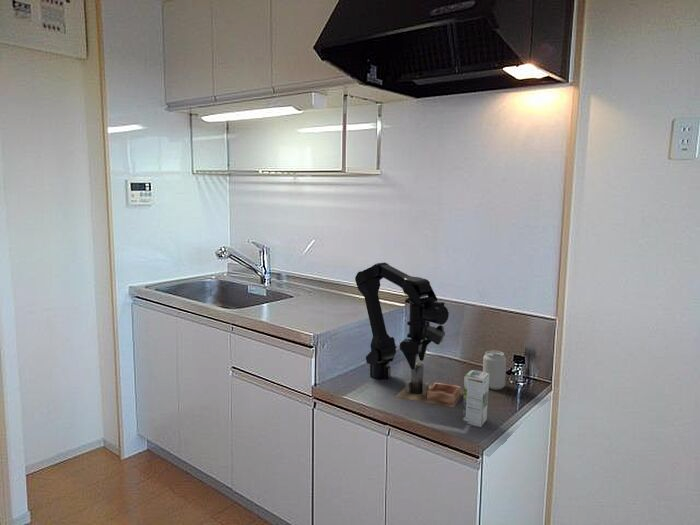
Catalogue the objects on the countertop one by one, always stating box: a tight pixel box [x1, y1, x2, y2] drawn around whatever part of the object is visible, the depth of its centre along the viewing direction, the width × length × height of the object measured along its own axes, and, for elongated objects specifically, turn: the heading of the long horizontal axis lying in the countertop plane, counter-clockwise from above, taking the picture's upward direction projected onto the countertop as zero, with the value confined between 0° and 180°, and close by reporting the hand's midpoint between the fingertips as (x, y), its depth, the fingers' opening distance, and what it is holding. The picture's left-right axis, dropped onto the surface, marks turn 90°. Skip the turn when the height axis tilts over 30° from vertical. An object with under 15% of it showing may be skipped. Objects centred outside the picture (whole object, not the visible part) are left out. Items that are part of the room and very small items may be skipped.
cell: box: [410, 362, 425, 394], centre depth 170 cm, size 4×4×10 cm
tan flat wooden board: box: [395, 379, 464, 408], centre depth 168 cm, size 19×14×4 cm
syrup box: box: [461, 369, 490, 428], centre depth 150 cm, size 6×6×14 cm
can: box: [482, 350, 507, 391], centre depth 177 cm, size 8×8×12 cm
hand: (417, 364), depth 169 cm, fingers open, 9 cm apart
